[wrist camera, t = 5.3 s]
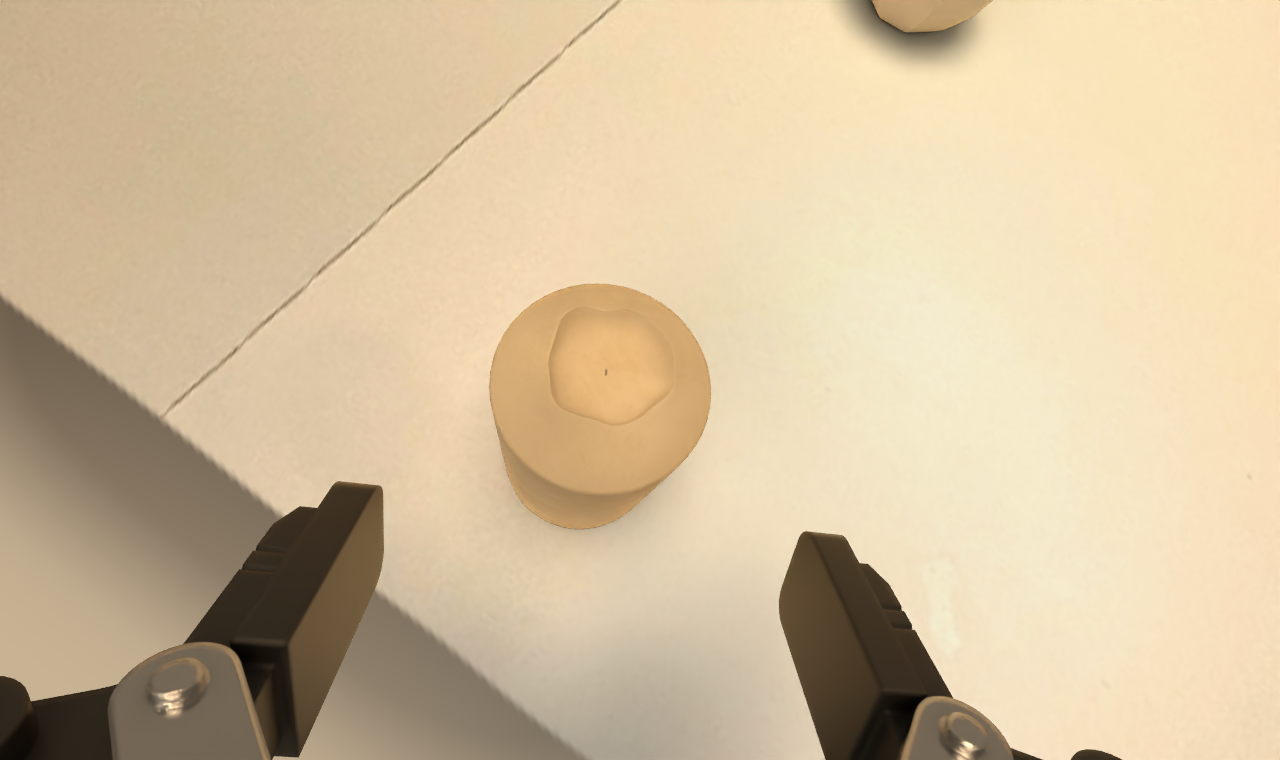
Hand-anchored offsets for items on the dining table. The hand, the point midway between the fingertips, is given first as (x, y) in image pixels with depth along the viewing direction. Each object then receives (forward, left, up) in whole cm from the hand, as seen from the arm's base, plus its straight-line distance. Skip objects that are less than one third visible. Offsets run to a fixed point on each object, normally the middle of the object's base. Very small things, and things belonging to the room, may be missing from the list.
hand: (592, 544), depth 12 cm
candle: (+3, +3, -11) cm, 12 cm away
